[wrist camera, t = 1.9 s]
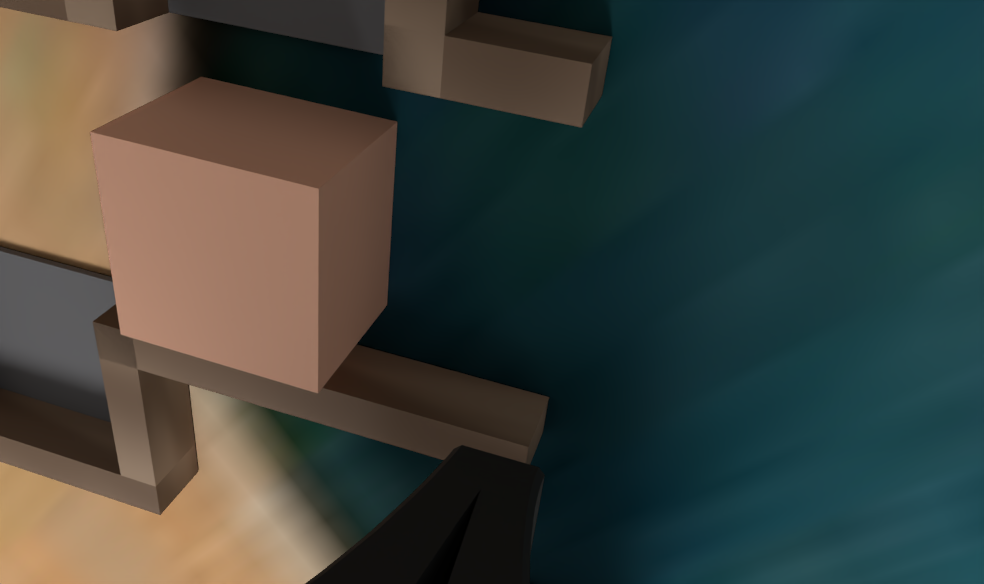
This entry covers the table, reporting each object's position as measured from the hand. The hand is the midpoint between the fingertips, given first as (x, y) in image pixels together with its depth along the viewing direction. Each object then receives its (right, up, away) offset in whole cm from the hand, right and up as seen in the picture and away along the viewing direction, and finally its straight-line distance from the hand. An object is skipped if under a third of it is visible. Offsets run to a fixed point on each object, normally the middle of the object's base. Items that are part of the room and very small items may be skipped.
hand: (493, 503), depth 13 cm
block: (-5, +6, +8) cm, 11 cm away
